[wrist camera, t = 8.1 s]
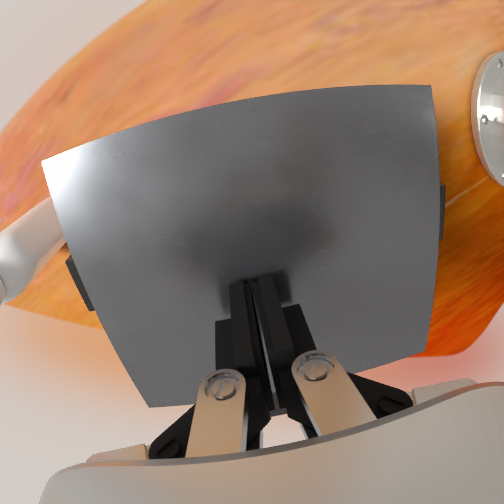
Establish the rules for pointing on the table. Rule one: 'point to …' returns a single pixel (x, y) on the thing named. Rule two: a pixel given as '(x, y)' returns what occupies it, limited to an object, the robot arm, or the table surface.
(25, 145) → the table surface
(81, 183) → the lid
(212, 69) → the table surface
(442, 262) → the table surface
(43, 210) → the eye dropper bottle
